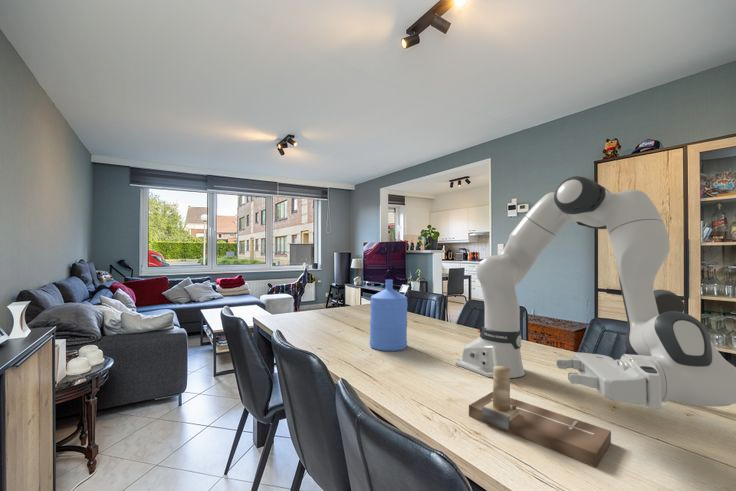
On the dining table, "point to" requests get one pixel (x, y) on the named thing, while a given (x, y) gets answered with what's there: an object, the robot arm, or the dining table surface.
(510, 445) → the dining table surface
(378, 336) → the water jug
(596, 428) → the walnut board
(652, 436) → the dining table surface
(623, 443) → the dining table surface
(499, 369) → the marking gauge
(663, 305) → the rubber mallet
